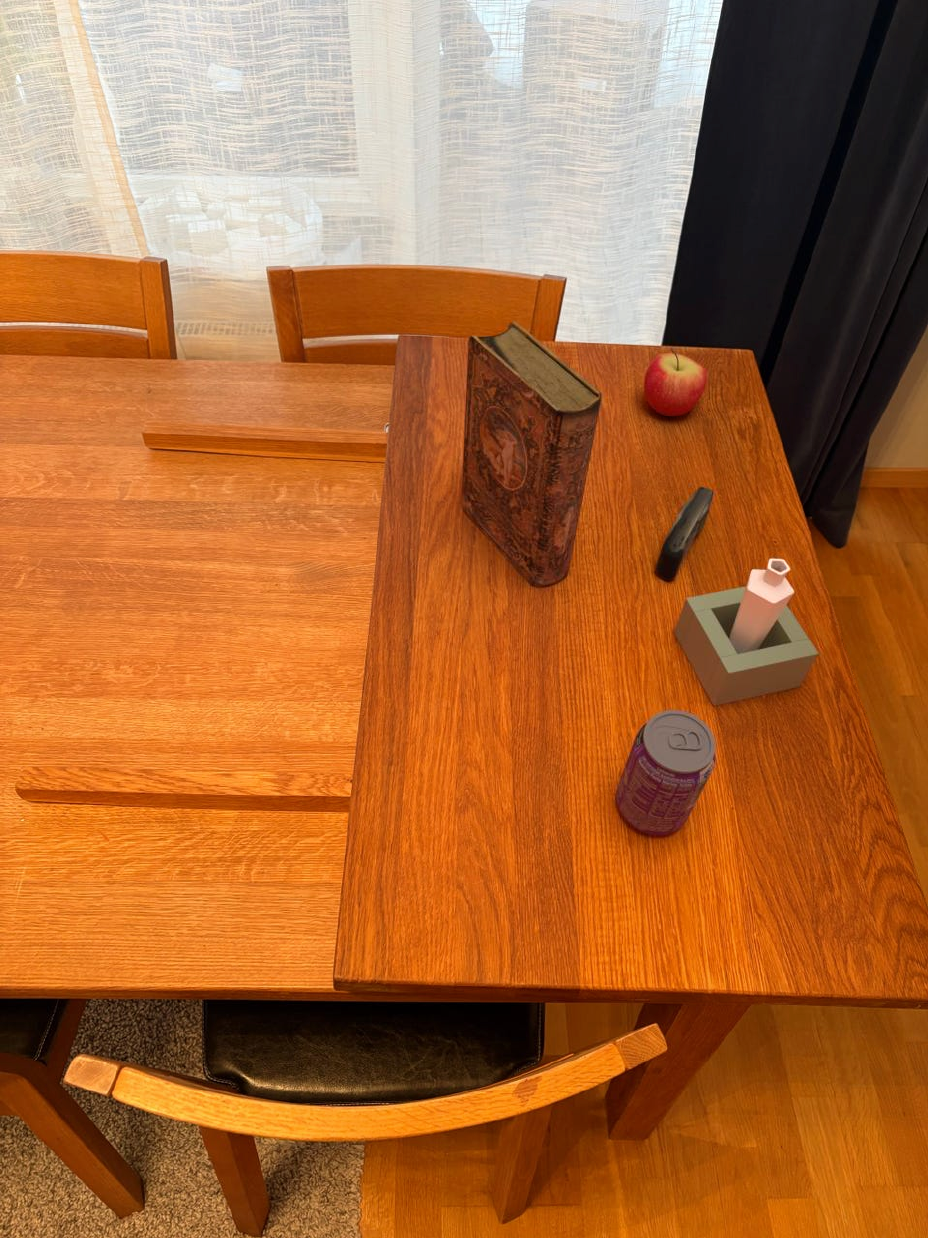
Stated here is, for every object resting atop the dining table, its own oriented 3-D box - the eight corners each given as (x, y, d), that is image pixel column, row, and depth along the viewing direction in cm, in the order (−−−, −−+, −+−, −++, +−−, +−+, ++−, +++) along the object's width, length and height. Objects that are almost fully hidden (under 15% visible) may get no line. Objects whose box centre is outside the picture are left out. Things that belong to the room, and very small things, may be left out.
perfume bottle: (717, 674, 93) (758, 582, 81) (712, 642, 95) (751, 549, 84) (759, 677, 93) (807, 586, 81) (753, 645, 95) (798, 552, 84)
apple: (633, 391, 124) (646, 330, 117) (690, 390, 125) (707, 329, 117) (643, 427, 119) (658, 365, 111) (703, 426, 120) (722, 365, 112)
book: (575, 574, 101) (610, 399, 82) (538, 592, 99) (564, 418, 80) (496, 493, 110) (511, 317, 90) (461, 508, 108) (468, 332, 88)
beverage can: (679, 770, 85) (710, 703, 76) (695, 837, 81) (730, 775, 71) (608, 773, 85) (631, 706, 75) (621, 840, 80) (647, 778, 71)
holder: (799, 687, 92) (819, 653, 87) (713, 706, 90) (728, 673, 85) (755, 615, 98) (771, 581, 93) (673, 632, 96) (685, 597, 92)
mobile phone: (684, 558, 97) (723, 478, 105) (658, 549, 98) (699, 470, 106) (674, 586, 101) (713, 507, 109) (650, 577, 102) (690, 499, 110)
